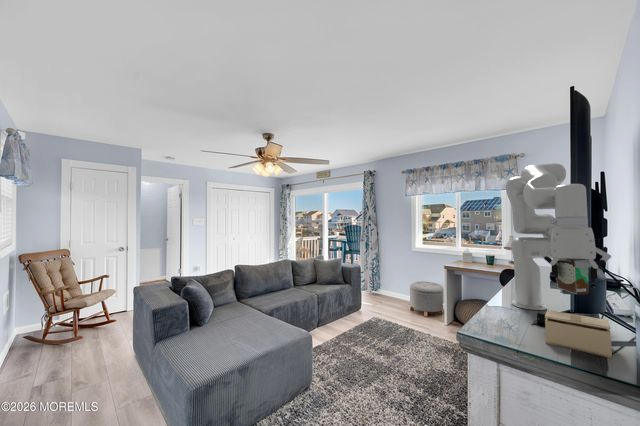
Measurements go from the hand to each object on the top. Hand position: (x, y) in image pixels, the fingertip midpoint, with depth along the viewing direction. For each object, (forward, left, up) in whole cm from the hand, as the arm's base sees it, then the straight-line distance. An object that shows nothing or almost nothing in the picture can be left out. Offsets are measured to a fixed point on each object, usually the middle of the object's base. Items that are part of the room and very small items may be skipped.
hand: (573, 278), depth 84 cm
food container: (0, +1, -4) cm, 4 cm away
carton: (0, 0, -20) cm, 20 cm away
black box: (-16, -9, -21) cm, 28 cm away
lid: (0, 0, -12) cm, 13 cm away
